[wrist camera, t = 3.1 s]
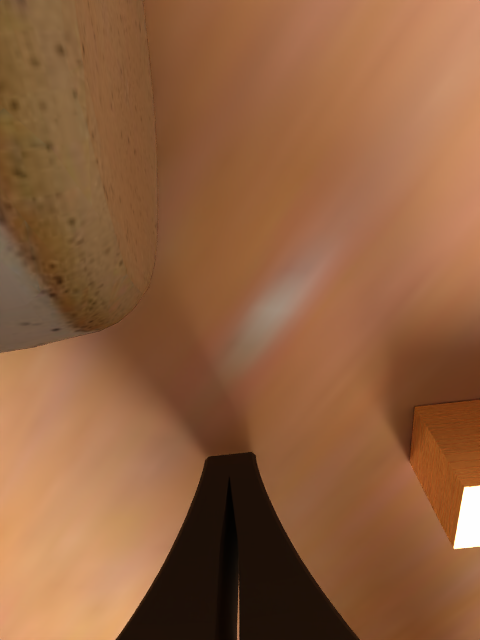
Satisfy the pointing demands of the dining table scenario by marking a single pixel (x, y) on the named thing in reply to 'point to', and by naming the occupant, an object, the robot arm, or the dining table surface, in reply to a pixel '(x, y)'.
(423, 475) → the brown rectangular block
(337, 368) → the dining table surface
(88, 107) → the ceramic mug
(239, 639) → the robot arm
